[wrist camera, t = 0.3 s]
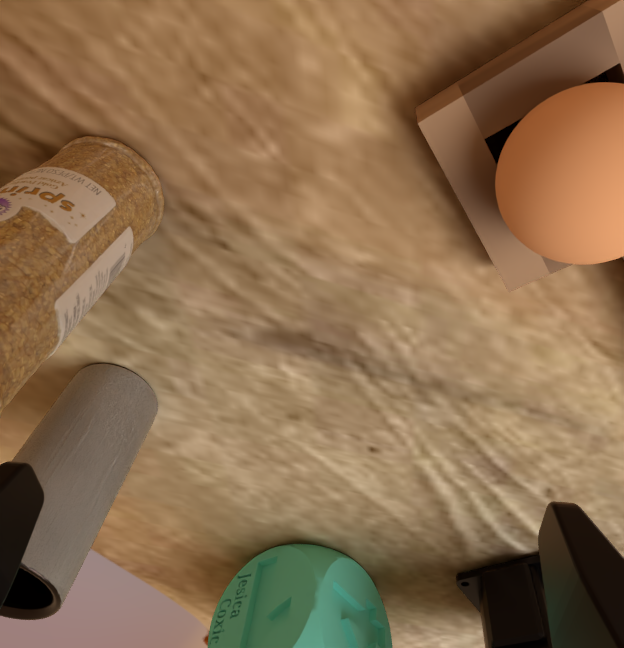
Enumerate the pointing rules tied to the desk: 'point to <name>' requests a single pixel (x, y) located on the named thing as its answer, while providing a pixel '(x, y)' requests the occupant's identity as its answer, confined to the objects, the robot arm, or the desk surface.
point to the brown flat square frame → (516, 118)
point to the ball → (567, 176)
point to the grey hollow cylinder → (77, 479)
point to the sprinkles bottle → (67, 245)
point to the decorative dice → (300, 603)
